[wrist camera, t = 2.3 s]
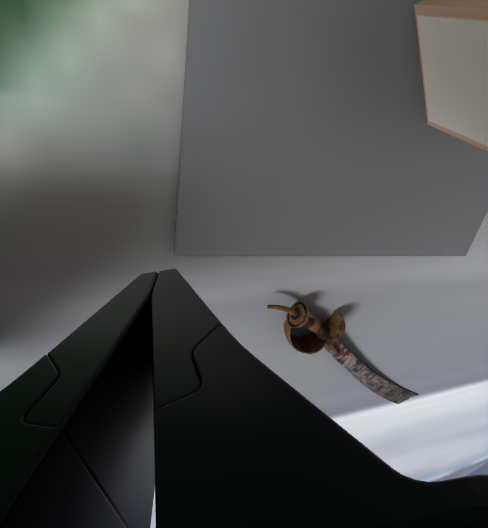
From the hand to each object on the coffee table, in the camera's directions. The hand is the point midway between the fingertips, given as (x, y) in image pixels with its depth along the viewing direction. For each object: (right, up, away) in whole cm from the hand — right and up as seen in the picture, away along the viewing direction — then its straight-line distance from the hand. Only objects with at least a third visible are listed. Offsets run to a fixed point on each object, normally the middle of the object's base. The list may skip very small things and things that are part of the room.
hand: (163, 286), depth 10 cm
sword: (+12, -7, +24) cm, 28 cm away
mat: (+9, +9, +12) cm, 17 cm away
